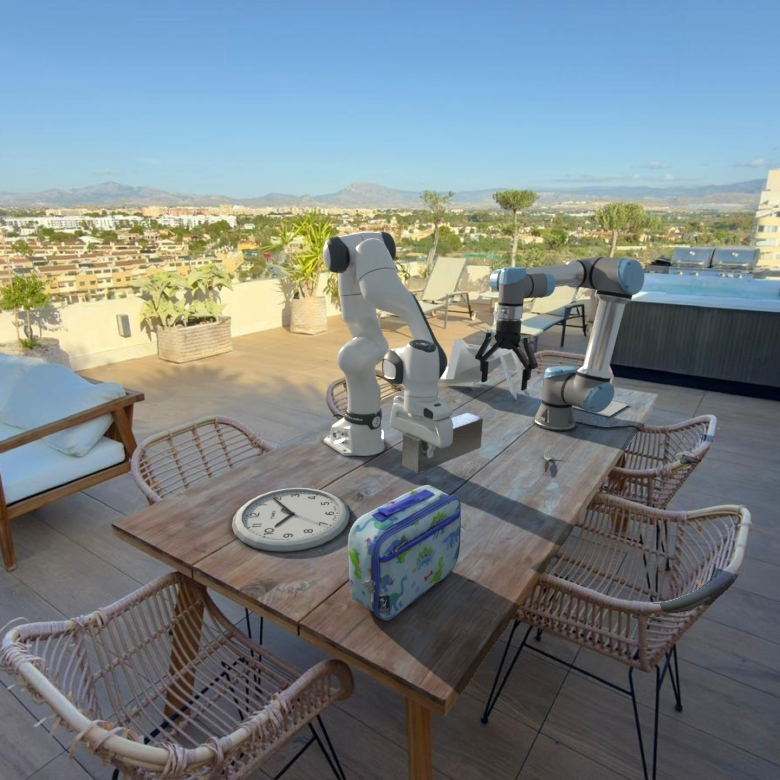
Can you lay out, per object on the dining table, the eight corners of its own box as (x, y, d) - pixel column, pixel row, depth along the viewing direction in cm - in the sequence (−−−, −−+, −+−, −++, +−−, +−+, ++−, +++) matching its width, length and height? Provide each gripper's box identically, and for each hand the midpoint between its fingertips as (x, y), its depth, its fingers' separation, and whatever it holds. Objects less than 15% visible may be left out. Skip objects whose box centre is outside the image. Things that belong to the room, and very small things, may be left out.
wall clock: (350, 543, 123) (219, 547, 120) (350, 549, 123) (220, 553, 121) (349, 483, 151) (243, 486, 149) (349, 488, 152) (243, 491, 149)
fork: (540, 473, 163) (541, 467, 163) (544, 453, 178) (545, 448, 177) (549, 474, 162) (550, 468, 162) (552, 454, 177) (553, 449, 176)
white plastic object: (461, 429, 252) (437, 405, 227) (444, 352, 274) (420, 323, 250) (535, 404, 240) (518, 377, 215) (510, 326, 262) (492, 293, 237)
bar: (465, 441, 157) (467, 412, 155) (480, 447, 153) (482, 418, 150) (402, 465, 141) (402, 434, 138) (417, 473, 137) (418, 441, 134)
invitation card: (608, 416, 214) (573, 407, 224) (608, 416, 214) (573, 408, 224) (628, 404, 229) (594, 396, 238) (628, 405, 229) (594, 397, 238)
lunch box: (378, 635, 98) (379, 537, 91) (341, 606, 105) (340, 513, 99) (464, 574, 115) (470, 488, 109) (427, 553, 122) (431, 471, 116)
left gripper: (385, 396, 141) (384, 443, 145) (441, 416, 126) (438, 468, 130) (402, 391, 145) (401, 437, 149) (458, 410, 130) (455, 461, 134)
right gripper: (467, 315, 164) (463, 380, 170) (544, 325, 150) (536, 396, 156) (478, 313, 170) (474, 376, 176) (553, 322, 155) (546, 390, 162)
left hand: (419, 452), depth 139 cm, fingers closed on bar, 6 cm apart
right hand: (503, 385), depth 166 cm, fingers open, 13 cm apart
